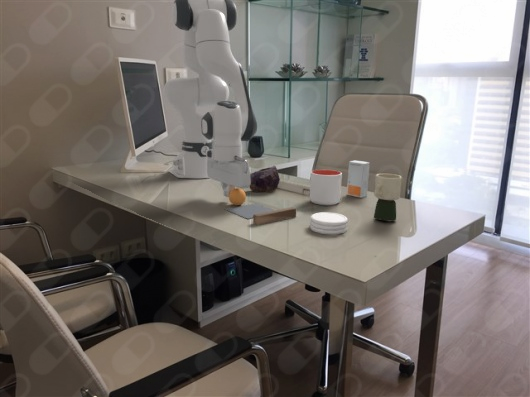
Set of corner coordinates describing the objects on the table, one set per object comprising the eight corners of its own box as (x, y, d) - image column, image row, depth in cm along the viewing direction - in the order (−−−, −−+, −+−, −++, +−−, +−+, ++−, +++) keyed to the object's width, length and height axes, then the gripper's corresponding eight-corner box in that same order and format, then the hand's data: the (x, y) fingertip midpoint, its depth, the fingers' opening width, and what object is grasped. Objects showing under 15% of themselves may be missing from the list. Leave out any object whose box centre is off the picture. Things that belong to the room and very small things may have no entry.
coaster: (322, 221, 125) (323, 209, 124) (353, 229, 119) (354, 216, 118) (302, 229, 118) (302, 217, 117) (334, 238, 111) (335, 225, 111)
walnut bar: (253, 223, 121) (253, 214, 121) (291, 215, 130) (291, 206, 129) (257, 225, 120) (257, 216, 119) (295, 216, 128) (296, 208, 127)
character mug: (384, 213, 133) (388, 171, 129) (405, 219, 128) (410, 175, 124) (363, 220, 126) (366, 176, 122) (384, 226, 120) (389, 180, 117)
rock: (247, 193, 160) (263, 198, 152) (244, 170, 157) (260, 174, 150) (272, 184, 166) (289, 189, 158) (270, 162, 164) (287, 166, 156)
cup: (322, 196, 152) (323, 168, 149) (346, 202, 145) (348, 172, 142) (303, 201, 145) (304, 172, 142) (327, 208, 138) (329, 176, 135)
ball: (231, 185, 136) (237, 201, 134) (245, 184, 139) (251, 199, 137) (223, 194, 140) (229, 209, 138) (237, 192, 143) (243, 207, 141)
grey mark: (224, 209, 134) (224, 208, 134) (256, 203, 141) (256, 203, 141) (247, 219, 125) (247, 218, 125) (280, 212, 132) (280, 211, 132)
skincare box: (346, 195, 155) (348, 161, 152) (352, 193, 158) (354, 160, 155) (361, 198, 151) (363, 163, 148) (367, 196, 154) (370, 162, 151)
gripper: (255, 157, 133) (255, 202, 136) (219, 149, 148) (219, 189, 152) (238, 159, 129) (238, 205, 132) (203, 151, 145) (203, 191, 148)
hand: (228, 196), depth 142 cm, fingers closed
